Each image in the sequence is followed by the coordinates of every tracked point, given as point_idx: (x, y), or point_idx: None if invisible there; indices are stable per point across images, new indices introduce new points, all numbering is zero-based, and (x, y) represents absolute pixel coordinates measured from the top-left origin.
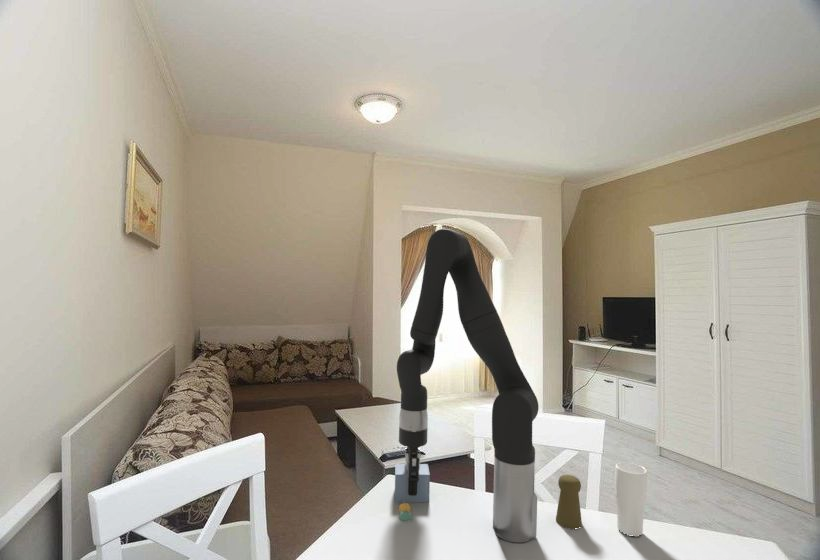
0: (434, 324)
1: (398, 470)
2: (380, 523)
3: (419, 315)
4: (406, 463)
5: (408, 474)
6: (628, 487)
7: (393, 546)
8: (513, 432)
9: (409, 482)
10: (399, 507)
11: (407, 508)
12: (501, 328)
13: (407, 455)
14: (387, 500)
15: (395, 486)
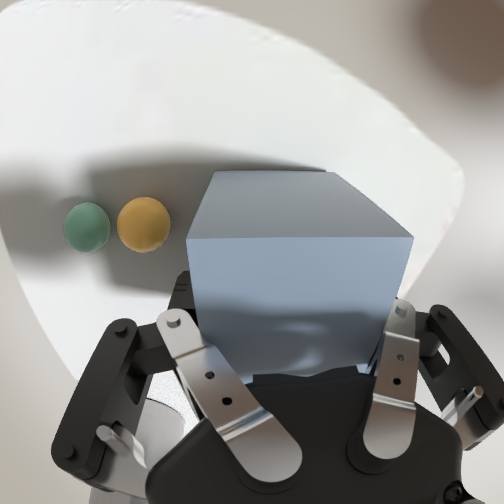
0: None
1: (277, 265)
2: (88, 124)
3: None
4: (207, 392)
5: (164, 341)
6: None
7: (6, 192)
8: None
9: (182, 306)
10: (132, 205)
11: (122, 241)
12: None
13: (235, 462)
14: (282, 134)
15: (201, 202)
